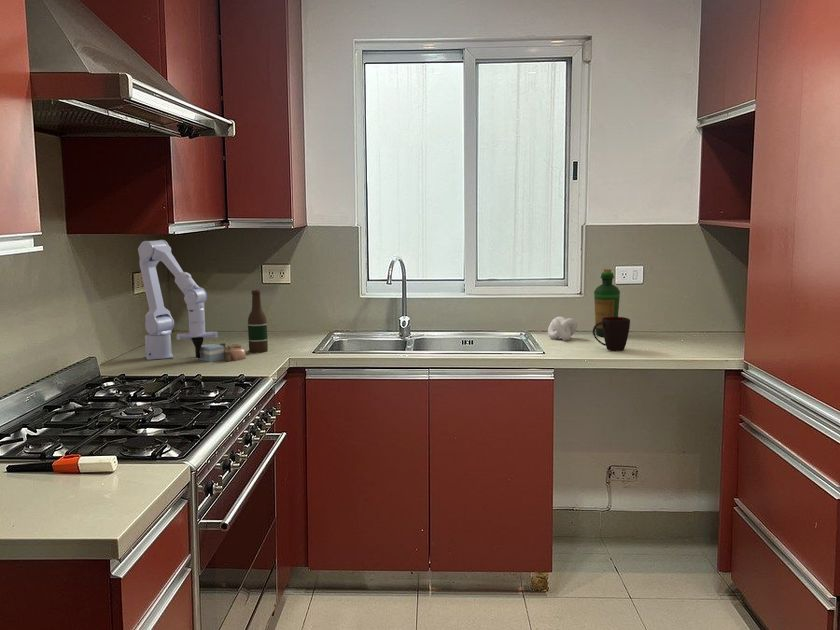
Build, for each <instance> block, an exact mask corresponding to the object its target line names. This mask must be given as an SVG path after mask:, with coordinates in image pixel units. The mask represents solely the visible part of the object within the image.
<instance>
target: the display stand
mask: <svg viewBox="0 0 840 630" xmlns="http://www.w3.org/2000/svg"><path fill="white" fill-rule="evenodd" d="M219 345H221V346H224V359H223V360H224V361H225V362H226V363H227V362H228V363H229V362H232V360H231V354H230V351H229V350H228V349H227V346H226V343H225V342H219ZM194 351H195V357H196V348H195V347H194Z"/></svg>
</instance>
